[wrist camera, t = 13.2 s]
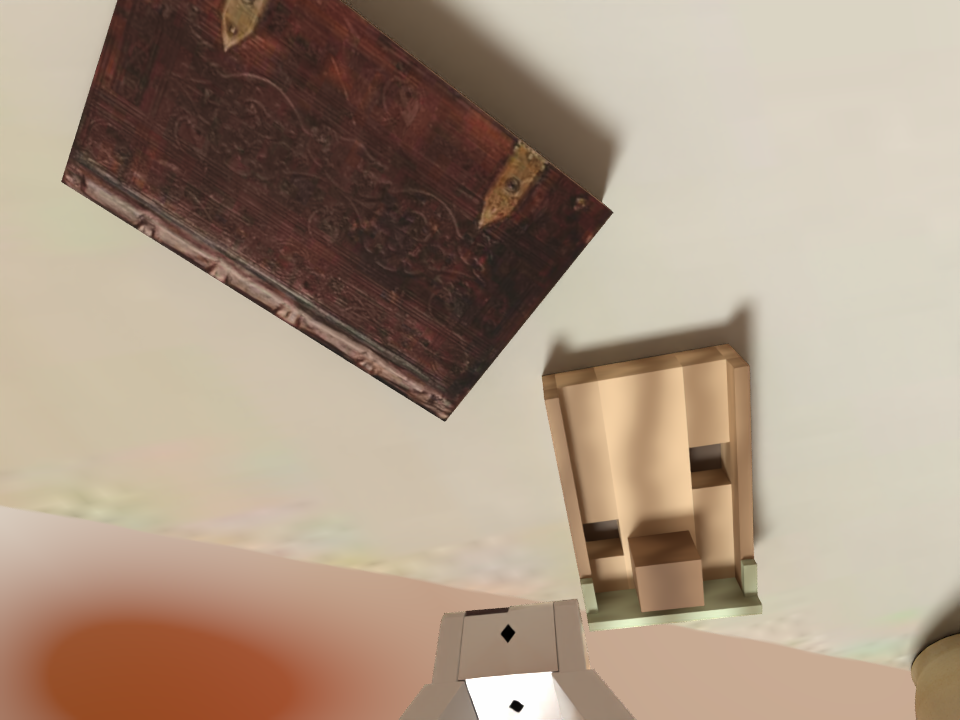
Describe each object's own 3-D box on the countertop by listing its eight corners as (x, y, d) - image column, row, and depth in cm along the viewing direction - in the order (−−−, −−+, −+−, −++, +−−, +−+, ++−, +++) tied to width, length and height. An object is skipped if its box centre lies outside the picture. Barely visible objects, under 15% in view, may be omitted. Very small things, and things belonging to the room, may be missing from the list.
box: (728, 343, 39) (758, 375, 34) (736, 563, 48) (762, 613, 43) (541, 375, 41) (545, 410, 36) (582, 581, 50) (589, 631, 45)
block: (688, 530, 44) (701, 559, 41) (692, 574, 46) (704, 605, 43) (627, 537, 44) (635, 567, 42) (633, 581, 46) (641, 612, 43)
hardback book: (110, 178, 37) (55, 186, 33) (213, -101, 31) (160, -139, 26) (449, 395, 43) (442, 427, 39) (600, 200, 36) (613, 212, 32)
